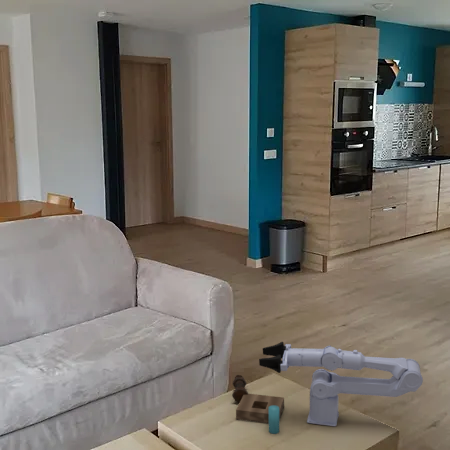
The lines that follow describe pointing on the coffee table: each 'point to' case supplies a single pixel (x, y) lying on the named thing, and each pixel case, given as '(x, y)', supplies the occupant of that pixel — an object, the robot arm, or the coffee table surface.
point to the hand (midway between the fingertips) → (261, 356)
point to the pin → (273, 419)
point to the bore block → (258, 407)
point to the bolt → (239, 388)
